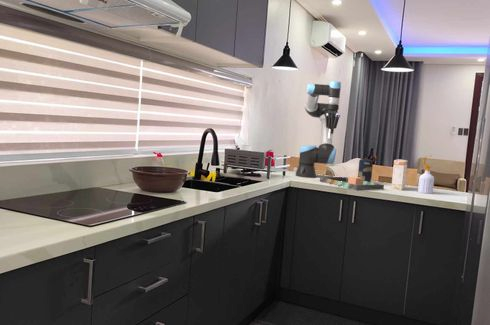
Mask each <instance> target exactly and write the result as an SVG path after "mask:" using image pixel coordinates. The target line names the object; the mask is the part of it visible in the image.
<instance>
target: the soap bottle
mask: <svg viewBox="0 0 490 325" xmlns="http://www.w3.org/2000/svg"><path fill="white" fill-rule="evenodd" d="M429 157H431V155H427V156H424V157H423V167H425V168H426V169H424V173H422V174H421V175H419V178H418V179H419V180H418V184H417V185H418V186H417V192H418V193H421V194H428V195H431V194H433V193H434V185H435V176H433V175H432V174H431V170H430V168H431V167H433V165H427V164H426V159H427V158H429Z"/></svg>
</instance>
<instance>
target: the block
mask: <svg viewBox="0 0 490 325" xmlns="http://www.w3.org/2000/svg"><path fill="white" fill-rule="evenodd" d="M347 178H348V183H350V184H355V185H363V181H364V178H359V177H358V176H348V177H347Z"/></svg>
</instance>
